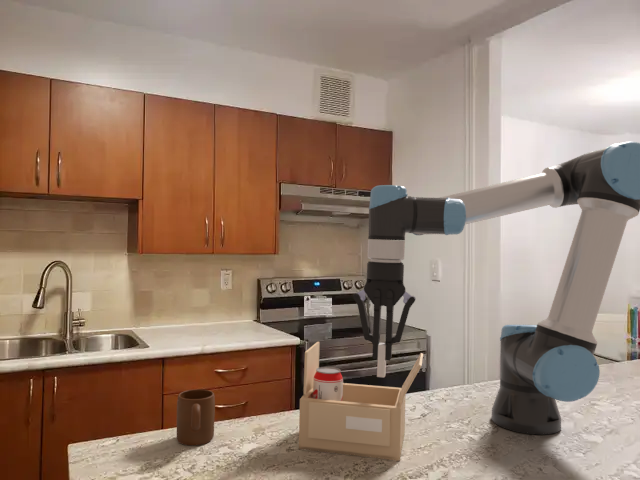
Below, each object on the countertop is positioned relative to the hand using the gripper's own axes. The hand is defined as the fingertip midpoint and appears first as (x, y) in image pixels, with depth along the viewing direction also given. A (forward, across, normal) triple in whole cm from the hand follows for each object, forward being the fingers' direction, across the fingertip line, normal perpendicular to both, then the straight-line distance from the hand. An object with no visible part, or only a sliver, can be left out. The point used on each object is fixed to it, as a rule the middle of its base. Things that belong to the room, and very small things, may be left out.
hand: (381, 375), depth 106 cm
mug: (+15, +36, +10) cm, 40 cm away
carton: (+14, +5, 0) cm, 15 cm away
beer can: (+16, +11, +1) cm, 19 cm away
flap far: (0, +15, 0) cm, 15 cm away
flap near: (0, -6, 0) cm, 6 cm away
